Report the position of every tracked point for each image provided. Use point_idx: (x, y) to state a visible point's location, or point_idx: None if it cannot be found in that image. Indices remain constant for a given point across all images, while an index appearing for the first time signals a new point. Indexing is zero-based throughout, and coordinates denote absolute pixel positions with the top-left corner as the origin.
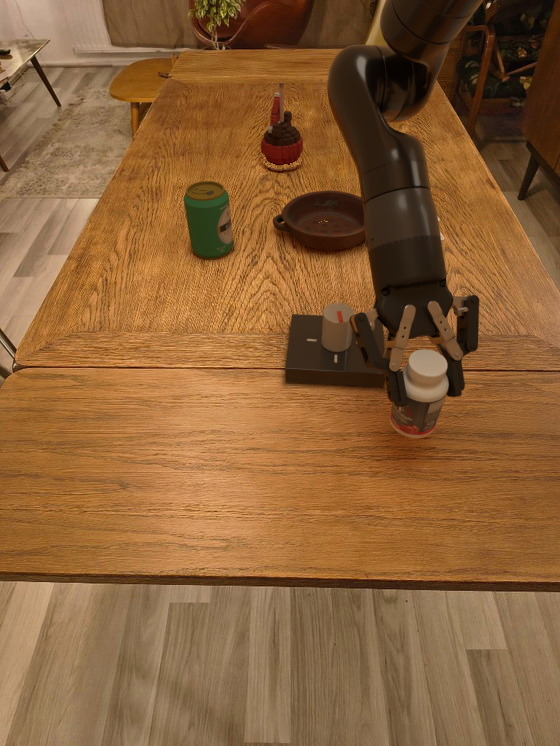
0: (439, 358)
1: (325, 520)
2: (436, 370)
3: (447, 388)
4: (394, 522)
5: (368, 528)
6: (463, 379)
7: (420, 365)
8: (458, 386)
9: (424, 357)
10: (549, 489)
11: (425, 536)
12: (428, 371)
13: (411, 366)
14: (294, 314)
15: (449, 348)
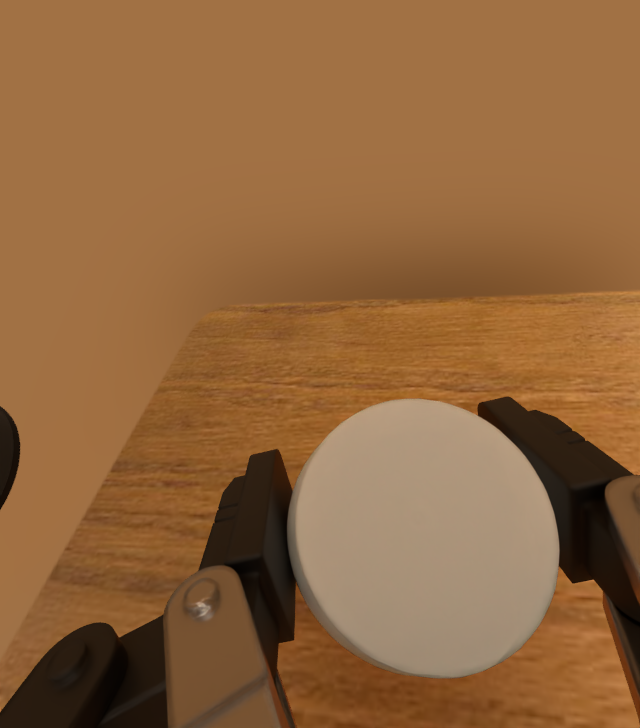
0: (335, 553)
1: (551, 380)
2: (376, 439)
3: (305, 464)
4: (419, 378)
5: (467, 367)
6: (220, 511)
7: (475, 484)
8: (256, 470)
9: (440, 568)
10: (132, 443)
11: (369, 356)
12: (427, 430)
13: (536, 481)
14: None
15: (245, 637)
